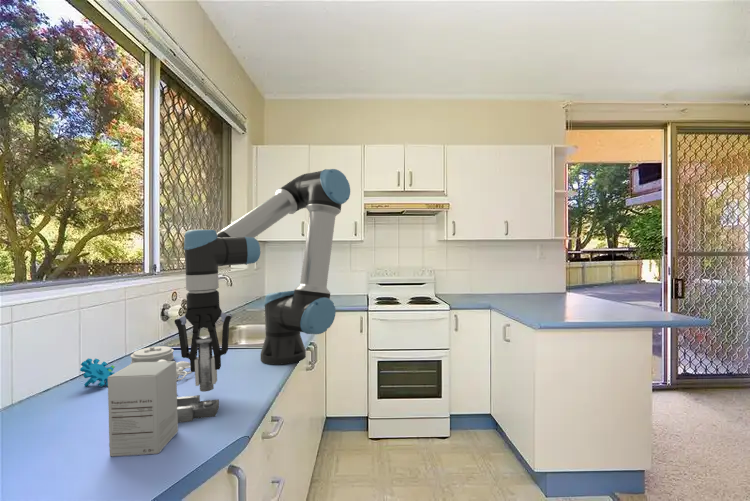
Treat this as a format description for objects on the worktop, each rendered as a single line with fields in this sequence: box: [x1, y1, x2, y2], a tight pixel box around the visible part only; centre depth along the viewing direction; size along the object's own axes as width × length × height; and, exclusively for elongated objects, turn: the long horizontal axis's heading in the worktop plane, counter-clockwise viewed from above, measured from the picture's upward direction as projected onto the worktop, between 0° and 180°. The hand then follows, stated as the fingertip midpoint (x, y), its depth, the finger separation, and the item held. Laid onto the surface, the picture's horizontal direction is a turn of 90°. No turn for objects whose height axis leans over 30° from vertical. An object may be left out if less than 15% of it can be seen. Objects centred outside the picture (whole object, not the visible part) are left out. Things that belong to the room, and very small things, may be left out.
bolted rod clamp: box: [177, 394, 220, 424], centre depth 88 cm, size 17×7×3 cm, turn 103°
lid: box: [130, 345, 175, 364], centre depth 130 cm, size 13×13×5 cm
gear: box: [79, 358, 116, 387], centre depth 109 cm, size 11×6×10 cm
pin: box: [195, 334, 215, 393], centre depth 98 cm, size 5×5×13 cm
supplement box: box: [107, 360, 179, 457], centre depth 76 cm, size 9×9×15 cm
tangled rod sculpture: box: [157, 360, 193, 381], centre depth 112 cm, size 19×14×4 cm
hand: (206, 382), depth 98 cm, fingers closed on pin, 3 cm apart
